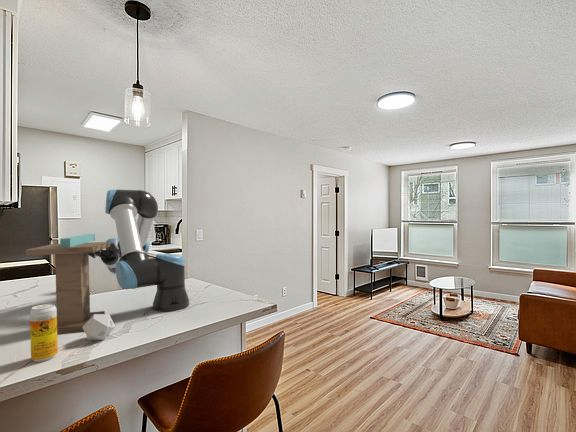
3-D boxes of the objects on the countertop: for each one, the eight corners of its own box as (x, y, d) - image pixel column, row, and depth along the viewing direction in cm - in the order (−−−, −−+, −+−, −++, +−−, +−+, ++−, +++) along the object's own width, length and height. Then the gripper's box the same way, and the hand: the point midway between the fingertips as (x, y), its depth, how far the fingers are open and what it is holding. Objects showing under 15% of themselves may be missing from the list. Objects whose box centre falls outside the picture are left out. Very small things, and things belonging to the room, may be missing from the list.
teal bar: (87, 240, 134) (87, 233, 134) (95, 240, 135) (94, 233, 135) (60, 247, 109) (60, 238, 109) (70, 246, 110) (69, 238, 110)
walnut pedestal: (55, 319, 123) (53, 243, 123) (111, 313, 128) (109, 241, 128) (28, 338, 104) (25, 249, 103) (95, 331, 109) (93, 246, 109)
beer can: (33, 365, 85) (31, 311, 85) (29, 358, 89) (27, 306, 89) (60, 357, 90) (58, 305, 90) (55, 351, 94) (53, 302, 94)
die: (91, 348, 97) (112, 320, 100) (71, 333, 99) (92, 306, 101) (105, 346, 105) (124, 321, 108) (86, 333, 106) (106, 308, 109)
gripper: (136, 263, 164) (127, 247, 146) (82, 266, 158) (66, 250, 140) (137, 250, 168) (128, 233, 150) (85, 253, 161) (69, 235, 143)
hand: (98, 241), depth 145 cm, fingers open, 13 cm apart
